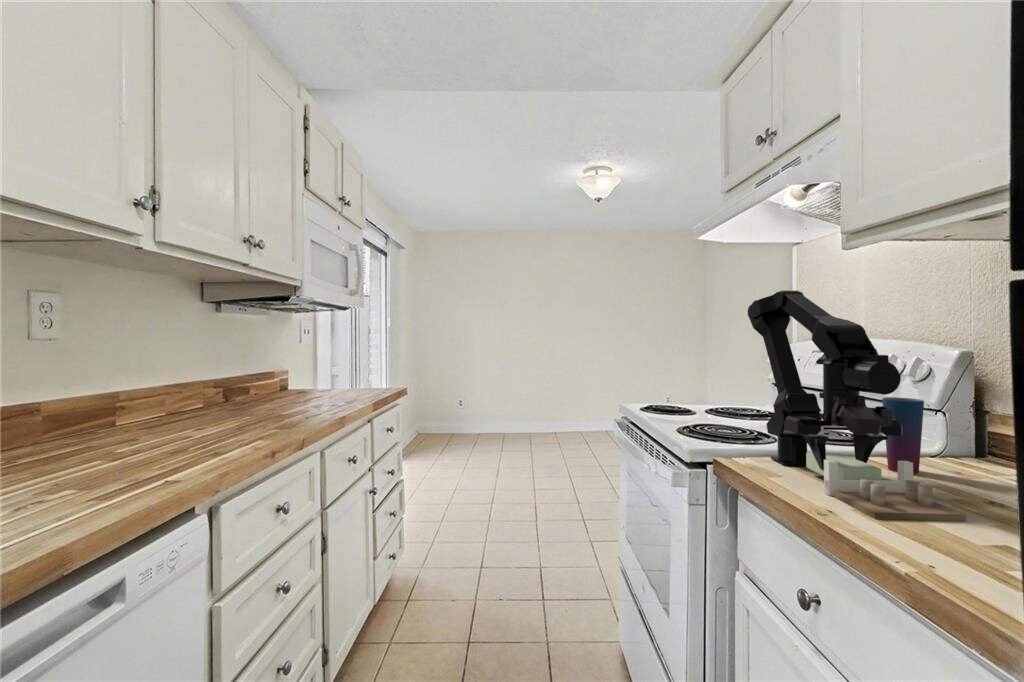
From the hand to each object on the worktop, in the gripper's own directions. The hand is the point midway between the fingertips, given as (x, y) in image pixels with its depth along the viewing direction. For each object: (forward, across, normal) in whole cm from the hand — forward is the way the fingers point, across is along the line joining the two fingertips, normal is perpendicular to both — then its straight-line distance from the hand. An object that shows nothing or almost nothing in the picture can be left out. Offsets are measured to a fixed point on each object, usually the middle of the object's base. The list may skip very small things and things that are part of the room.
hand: (841, 470), depth 90 cm
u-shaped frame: (+2, 0, -7) cm, 8 cm away
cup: (+3, +18, +10) cm, 21 cm away
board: (+1, 0, 0) cm, 1 cm away
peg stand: (+2, 0, -14) cm, 14 cm away
